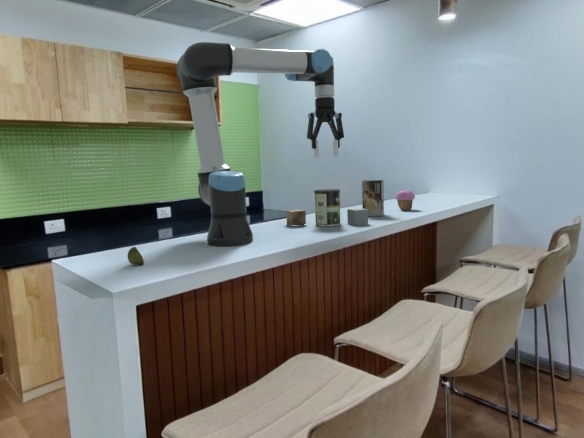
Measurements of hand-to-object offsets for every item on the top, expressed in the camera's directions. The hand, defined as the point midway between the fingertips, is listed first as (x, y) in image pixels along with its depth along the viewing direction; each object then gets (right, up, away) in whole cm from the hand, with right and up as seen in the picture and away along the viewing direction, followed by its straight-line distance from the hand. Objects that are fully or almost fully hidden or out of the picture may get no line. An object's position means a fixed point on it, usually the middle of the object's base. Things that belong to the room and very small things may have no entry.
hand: (326, 156), depth 166 cm
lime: (-55, -37, -54) cm, 86 cm away
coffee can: (+1, -27, +4) cm, 28 cm away
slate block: (+13, -27, +3) cm, 30 cm away
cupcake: (+43, -20, +42) cm, 63 cm away
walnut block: (-12, -27, +6) cm, 30 cm away
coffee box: (+24, -23, +27) cm, 43 cm away
